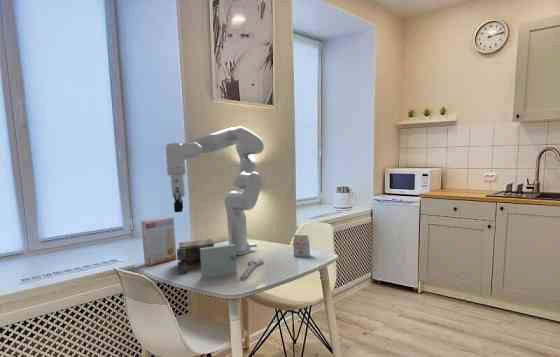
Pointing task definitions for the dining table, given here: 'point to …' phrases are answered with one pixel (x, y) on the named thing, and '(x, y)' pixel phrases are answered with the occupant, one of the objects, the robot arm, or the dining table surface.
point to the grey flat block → (218, 261)
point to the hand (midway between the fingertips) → (178, 210)
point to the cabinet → (191, 254)
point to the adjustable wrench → (251, 268)
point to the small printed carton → (301, 246)
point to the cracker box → (158, 240)
